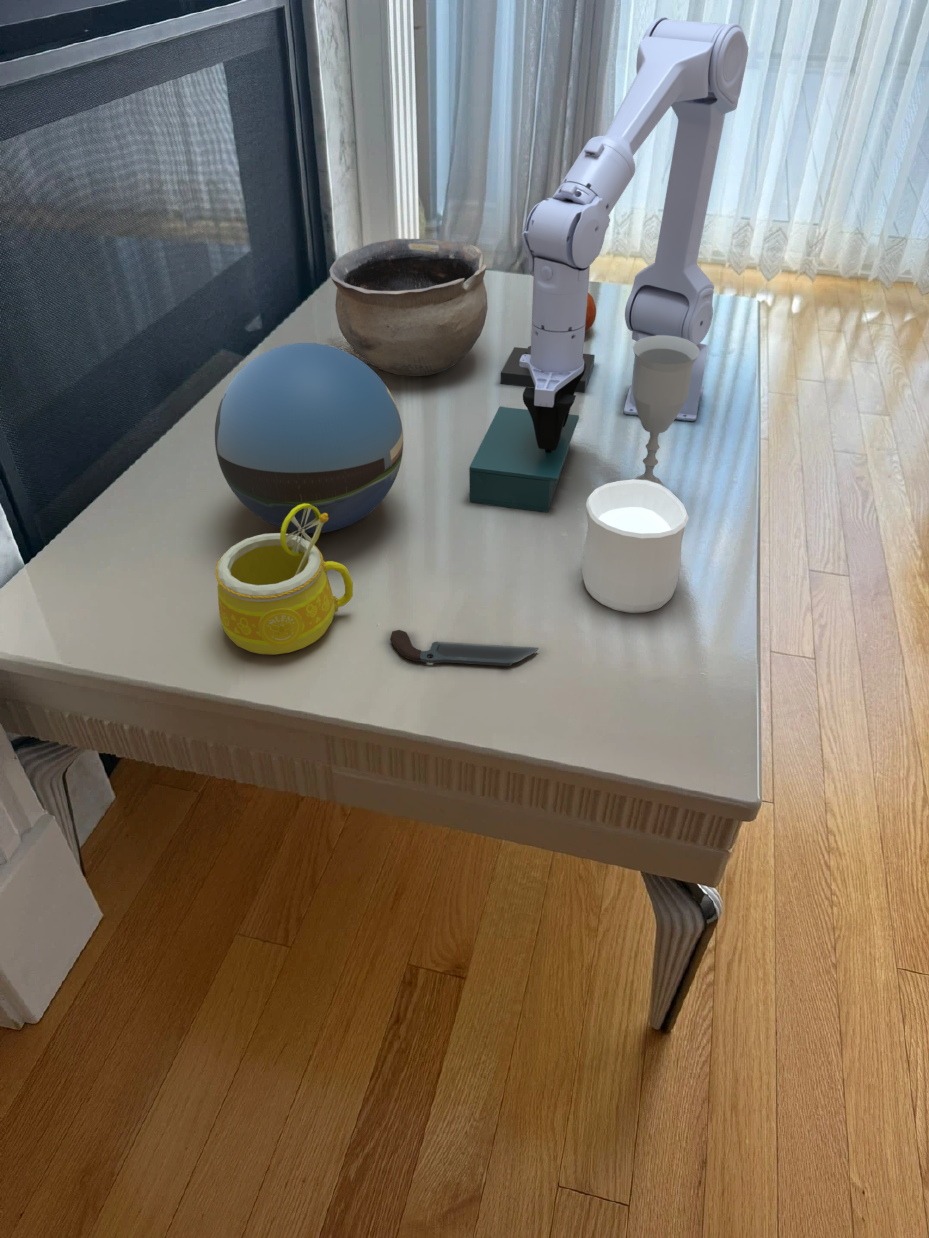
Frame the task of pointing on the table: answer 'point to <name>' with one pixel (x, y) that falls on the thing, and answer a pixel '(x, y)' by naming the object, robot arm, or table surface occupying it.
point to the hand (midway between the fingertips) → (552, 436)
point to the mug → (278, 589)
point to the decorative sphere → (309, 436)
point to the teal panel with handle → (520, 447)
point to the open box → (512, 490)
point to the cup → (633, 545)
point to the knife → (460, 652)
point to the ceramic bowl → (411, 303)
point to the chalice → (660, 387)
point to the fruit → (590, 312)
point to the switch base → (522, 375)
